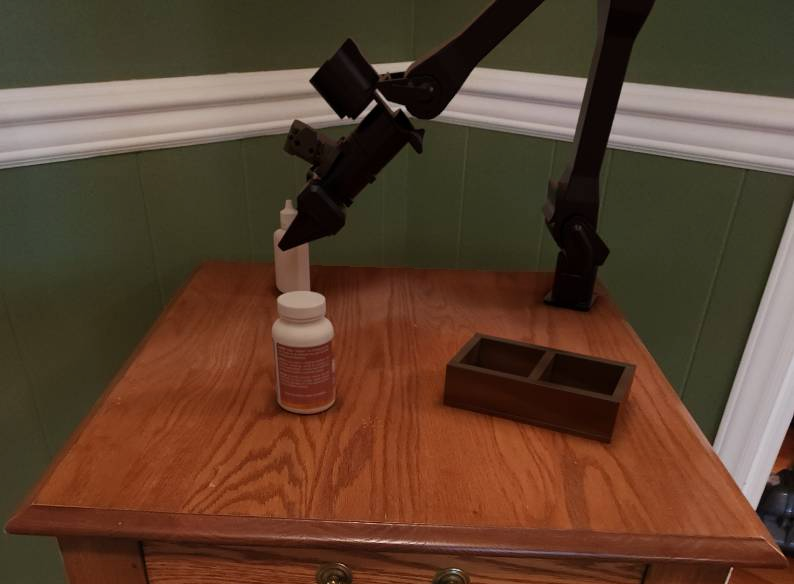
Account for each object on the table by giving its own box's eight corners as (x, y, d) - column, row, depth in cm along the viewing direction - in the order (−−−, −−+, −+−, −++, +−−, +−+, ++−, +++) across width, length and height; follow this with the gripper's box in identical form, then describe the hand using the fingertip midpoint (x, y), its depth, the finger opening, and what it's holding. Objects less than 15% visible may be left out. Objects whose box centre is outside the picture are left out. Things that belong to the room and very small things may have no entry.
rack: (471, 370, 84) (476, 332, 82) (626, 404, 79) (637, 364, 76) (442, 404, 78) (446, 364, 75) (609, 444, 72) (620, 402, 69)
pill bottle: (346, 407, 76) (345, 303, 70) (294, 421, 74) (287, 315, 67) (317, 383, 80) (314, 283, 74) (267, 397, 78) (258, 294, 71)
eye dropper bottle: (305, 283, 105) (302, 194, 98) (311, 297, 101) (308, 205, 94) (275, 285, 105) (269, 195, 97) (280, 299, 100) (274, 206, 93)
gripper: (326, 86, 95) (249, 174, 102) (314, 107, 81) (225, 209, 87) (384, 155, 100) (307, 235, 107) (382, 187, 86) (293, 278, 92)
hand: (284, 238), depth 98 cm, fingers open, 9 cm apart
